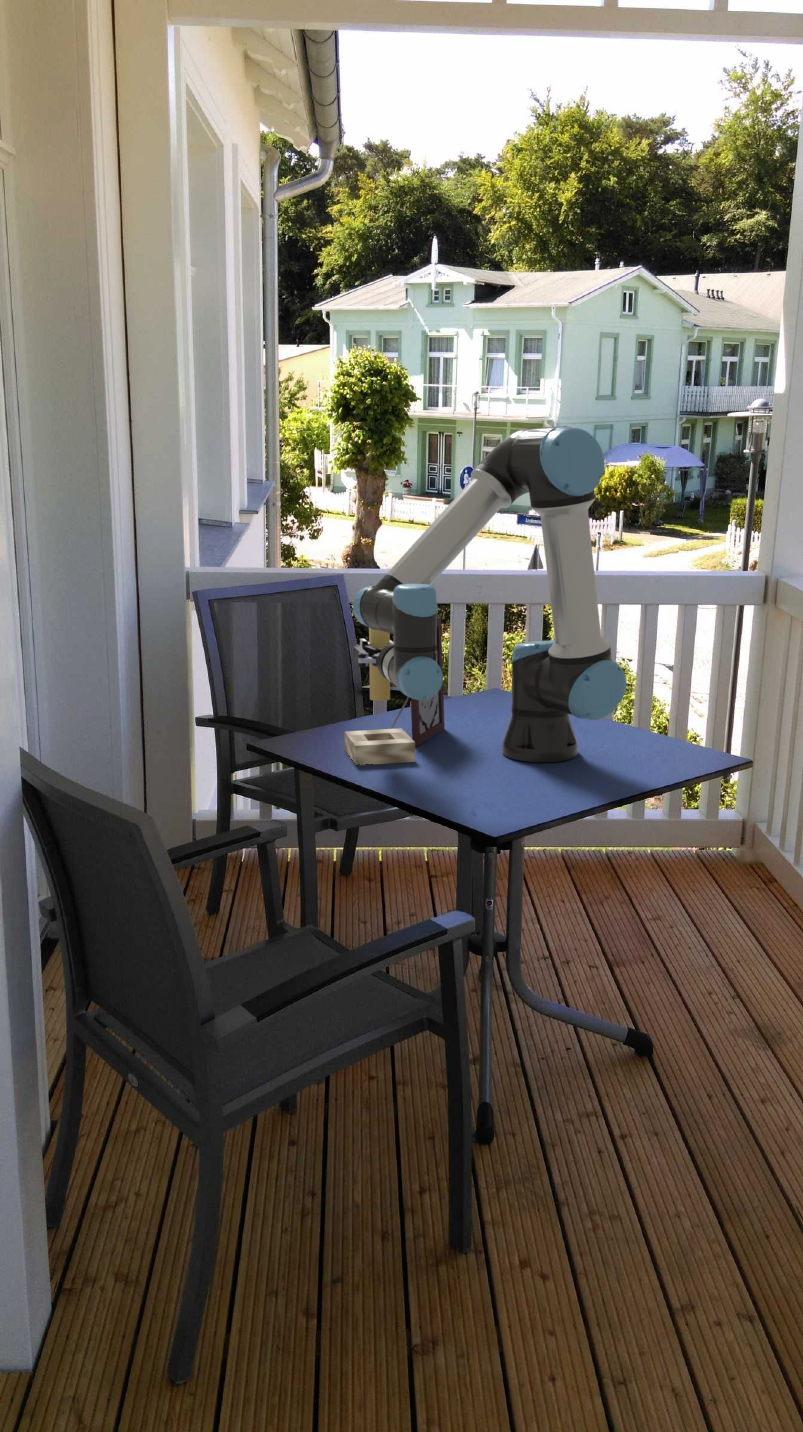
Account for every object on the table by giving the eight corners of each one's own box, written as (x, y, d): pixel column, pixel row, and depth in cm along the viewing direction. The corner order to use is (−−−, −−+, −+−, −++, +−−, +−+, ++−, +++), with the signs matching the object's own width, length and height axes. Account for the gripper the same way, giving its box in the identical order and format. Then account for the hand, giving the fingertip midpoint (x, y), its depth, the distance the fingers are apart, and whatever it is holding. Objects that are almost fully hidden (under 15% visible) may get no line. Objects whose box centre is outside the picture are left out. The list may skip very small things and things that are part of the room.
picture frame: (417, 746, 242) (417, 627, 236) (374, 742, 245) (373, 625, 240) (444, 729, 257) (445, 616, 251) (403, 725, 260) (402, 614, 255)
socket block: (401, 746, 242) (401, 728, 241) (415, 761, 230) (415, 742, 229) (344, 750, 239) (344, 731, 238) (355, 765, 228) (355, 745, 227)
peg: (387, 696, 233) (386, 607, 229) (392, 700, 230) (391, 609, 226) (368, 697, 233) (367, 607, 229) (372, 701, 229) (371, 610, 225)
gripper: (356, 687, 211) (332, 665, 233) (446, 682, 215) (414, 661, 237) (355, 646, 209) (331, 627, 231) (446, 642, 213) (414, 624, 235)
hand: (373, 644), depth 234 cm, fingers closed on peg, 4 cm apart
